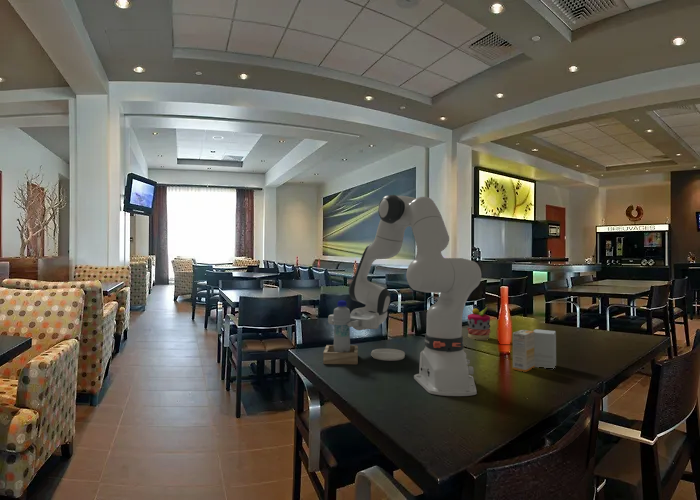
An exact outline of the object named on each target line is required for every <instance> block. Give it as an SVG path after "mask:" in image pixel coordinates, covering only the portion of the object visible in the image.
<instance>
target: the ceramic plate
mask: <svg viewBox="0 0 700 500" xmlns="http://www.w3.org/2000/svg"><path fill="white" fill-rule="evenodd" d="M405 355H406V353H405V351H403V350H400V349H396V348H376V349H372V351H371V353H370V357H371V356H372V357H373V358H372V357H371V358H372V359H374V360H378V361H387V362H391V361H401V360H403V359H405V357H406V356H405Z"/></svg>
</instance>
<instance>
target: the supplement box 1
mask: <svg viewBox="0 0 700 500" xmlns="http://www.w3.org/2000/svg"><path fill="white" fill-rule="evenodd" d="M532 368H533V369H534V368H536V367H535V332H534V330H533V331H532V330H527V329H520V330H517V331H514V332H512V370H514V371H518V372H522V371H523V373H526V372H529V371H531V370H533V369H532Z"/></svg>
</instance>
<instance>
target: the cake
mask: <svg viewBox="0 0 700 500" xmlns="http://www.w3.org/2000/svg"><path fill="white" fill-rule="evenodd" d="M487 310H488V306H486V307H485V308H484V309H482V310H481V311H480V310H479V309H478V308H473V309H472V313H469V314H467V322H466V323H467V328H466V330H467V338H468V337H469V338H471V339H470V340H473V339H476V340H475V341H488V340H487V339H489V340H490V334H491V324H490V323H491V316H490V315H488V314H486V312H487ZM469 338H468V339H469Z"/></svg>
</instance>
